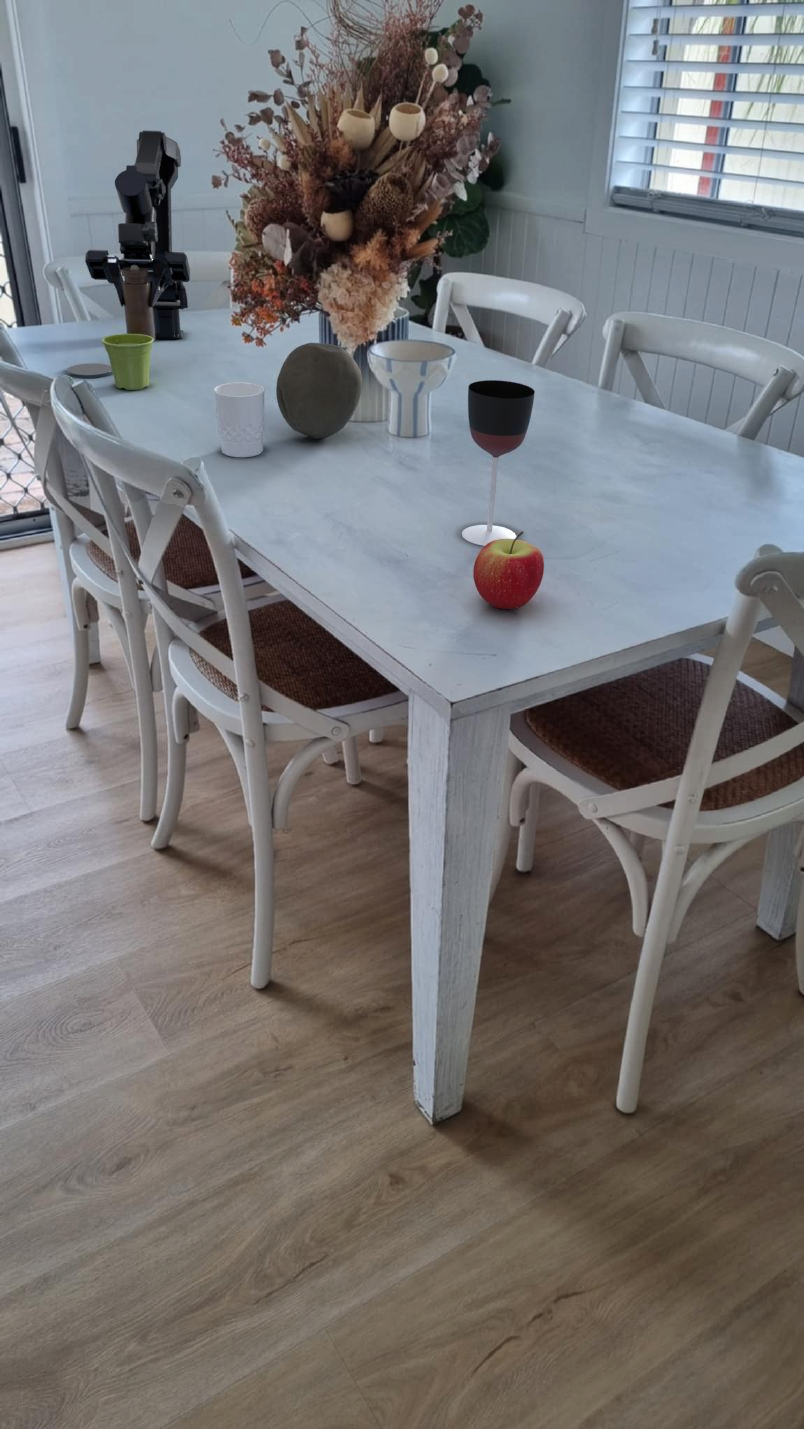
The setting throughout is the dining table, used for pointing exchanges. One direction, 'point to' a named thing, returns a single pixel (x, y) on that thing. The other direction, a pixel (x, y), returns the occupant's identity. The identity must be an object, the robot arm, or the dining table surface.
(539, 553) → the apple
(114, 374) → the plant pot
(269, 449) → the dining table surface
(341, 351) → the smooth river stone
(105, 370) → the coaster
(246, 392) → the white cup
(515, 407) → the wineglass
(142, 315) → the pepper mill
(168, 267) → the robot arm
